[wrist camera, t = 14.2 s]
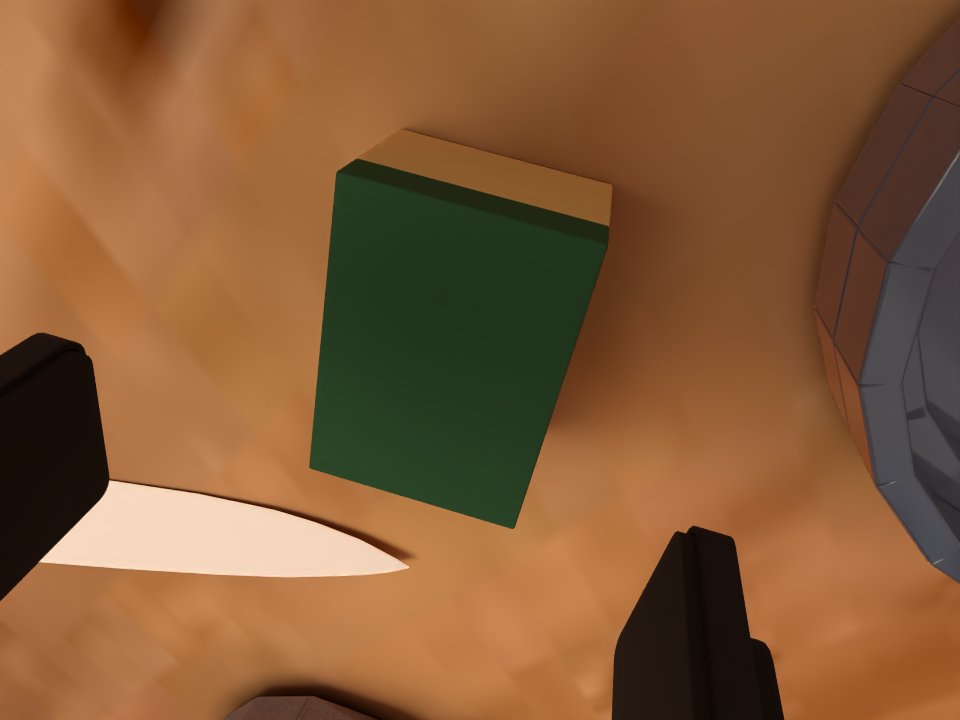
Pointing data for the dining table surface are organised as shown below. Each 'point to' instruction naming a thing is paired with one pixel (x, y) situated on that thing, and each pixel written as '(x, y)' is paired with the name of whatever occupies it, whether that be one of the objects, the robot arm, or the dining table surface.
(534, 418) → the sponge
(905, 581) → the dining table surface
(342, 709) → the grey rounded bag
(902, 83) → the bowl
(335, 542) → the knife
